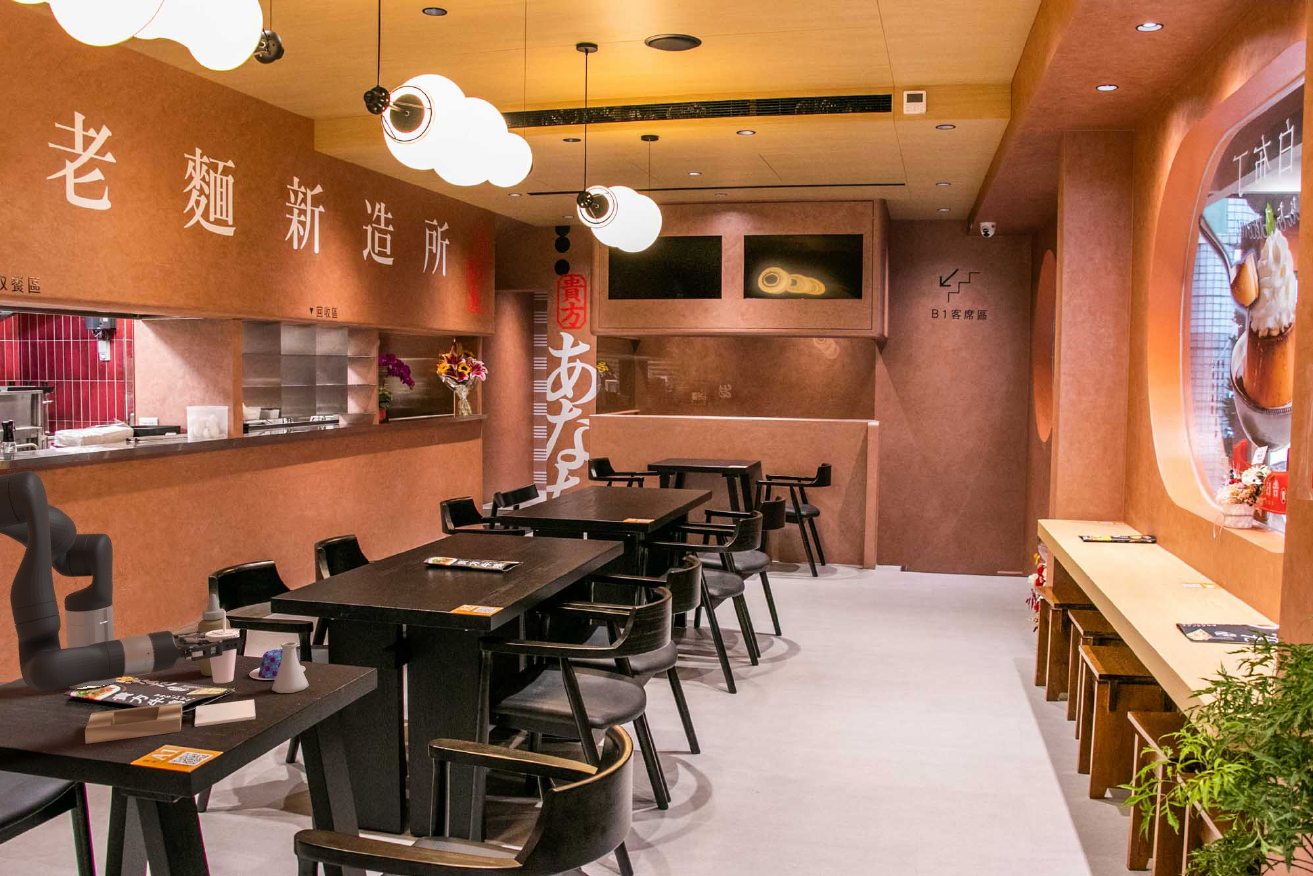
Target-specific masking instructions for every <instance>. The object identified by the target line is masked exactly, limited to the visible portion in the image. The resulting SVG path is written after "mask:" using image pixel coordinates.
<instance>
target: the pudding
mask: <svg viewBox="0 0 1313 876" xmlns="http://www.w3.org/2000/svg"><path fill="white" fill-rule="evenodd" d="M261 657H262V658H261V662H260V666H259V667H258V668H256V669H253V670H251V671H250V673H248V674H249V677H251V678H253V679H256V680H265V681H266V680H268V681H271V680H273V681H275V679H276V676H277V673H278V670H279V667H280V664H281V660H282V648H280V649H272V650H267V651H265V652H264V653H263V655H262V656H261ZM300 666H301V668H302V671H303V673H304V672H305V671H306V667H305V666H304V665H301V664H300Z"/></svg>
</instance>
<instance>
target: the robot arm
mask: <svg viewBox="0 0 1313 876" xmlns="http://www.w3.org/2000/svg"><path fill="white" fill-rule="evenodd" d="M77 530H78V529H77V526H76V525H75V523H74V520H73V519H71V517H70V516H69V515H67V514H66V513H65V512H64V511H62V510H61V509H60V508H58V507H56V506H54V505H50V504H49V503H48V496H47V492H46V487H45V485H44V483H43V481H42V478H40V476H39V475H38V474H37V473H36V472H34V471H31V470H25V471H21V472H15V473H13V472H12V473H10V474H3V475H0V534H2V535H5V536H7V537H9V538H11V539H13V540H14V541H16V542H18V543H20V544H21V545H22V546H24V547H25V552H24V553H23V557H22V560H21V562H20V564H19V567H18V569H17V572H16V573H15V576H14V578H13V580H12V583H11V587H10V594H9V595H10V597H9V599H10V608H11V611H12V617H13V622H14V626H15V631H16V633H17V639H18V641H17V643H18V646H17V647H18V660H19V668H20V673H21V676H22V679H23V681H24V683H25V684H26V685H27V686H28V687H29V688H30V689H32V690H35V691H39V692H40V691H46V692H47V691H48V692H49V691H54V690H61V689H64V688H69V689H72V690H77V688H83V687H87V686H103V685H107V686H110V685H113V684H114V683H115V682H116V681H117V679H119V678H125V677H136V676H143V675H148V674H153V673H154V674H155V673H160V672H164V671H165V672H166V671H170V670H173V669H174V668H175V667H176V665H177V662H178V659H181V658H183V659H184V660H191V662H197V660H202V659H207V658H211V657H216V656H221V655H223V651H228V650H233V649H236V650H238V649H241V648H242V646H243V643H242V638H241V637H240V636H239V637H234V638H228V639H222V640H220V639H219V640H210V639H209V638H205V634H206V633H207V632H203V633H202V632H201V631H198V630H197V631H192V632H183V633H178V634H173V633H172V632H171V631H170V630H161V631H156V632H148V633H143V634H136V635H131V636H127V637H123V638H119V639H115V628H114V626H115V625H114V608H113V607H114V605H113V603H114V602H113V594H114V593H113V591H114V589H113V565H114V563H113V562H114V561H113V560H114V558H113V557H114V556H113V555H114V554H113V553H114V552H113V543H112V539H111V538H110V536H109V534H105V533H77V532H78V531H77ZM53 569H54V570H55V571H56V572H57V573H58V574H59V575H61V576H64V577H69V578H77V577H78V578H79V577H91V578H92V581H91V584H89V585H87V586H86V587H83V588H82V589H78V590H76V591H73V592H70V593H69V594H68V595H66V596H65V598H64V601H63V603H64V617H65V636H66V637H65V639H66V641H65V642H66V648H62V647H61V646H62V645H61V642H60V634H59V632H60V631H61V628H62V627H61V625H62V624H61V623H62V622H61V621H62V620H61V615H60V610H59V605H58V601H57V597H56V591H55V585H54V579H53ZM212 647H216V650H211V648H212ZM109 684H110V685H109Z"/></svg>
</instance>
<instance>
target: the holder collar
mask: <svg viewBox="0 0 1313 876" xmlns="http://www.w3.org/2000/svg"><path fill="white" fill-rule="evenodd" d="M182 719H183V701H182V702H173V703H166V704H164V703H163V704H157V705H148V706H139V707H132V708H124V709H115V710H114V709H113V710H108V711H107V710H106V711H99V712H91V714H90V717H89V720H88V722H87V724H86V727H85V729H84V736H85V737H84V738H85V739H84V740H85V744H93V743H94V744H95V743H102V742H108V741H118V740H126V739H134V738H140V737H141V738H142V737H148V736H157V735H163V734H164V735H165V734H173V733H179V732H181V729H182V722H183V721H182Z"/></svg>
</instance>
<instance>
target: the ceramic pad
mask: <svg viewBox="0 0 1313 876" xmlns="http://www.w3.org/2000/svg"><path fill="white" fill-rule="evenodd" d="M255 705H256V704H255V699H246V700H240V701H231V702H223V703H222V702H221V703H215V704H206V705H205V704H204V705H197V706H196V707H195V718H194V727H195V728H196V727H204V726H211V725H219V724H220V725H221V724H228V723H236V722H243V721H250V720H251V721H252V720H256V719H257V718H256V717H257V716H256V707H255Z"/></svg>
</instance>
